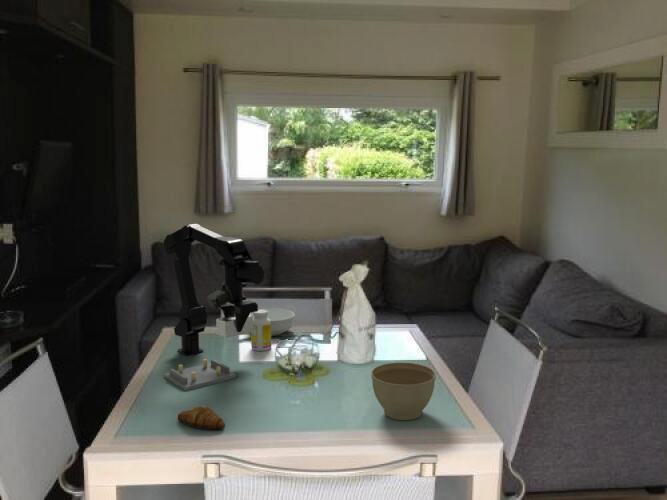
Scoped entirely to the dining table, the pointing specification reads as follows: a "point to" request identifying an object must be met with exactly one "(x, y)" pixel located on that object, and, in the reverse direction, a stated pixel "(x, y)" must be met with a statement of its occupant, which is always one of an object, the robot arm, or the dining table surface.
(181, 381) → the tray
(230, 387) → the dining table surface
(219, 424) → the croissant
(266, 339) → the supplement bottle
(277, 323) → the cereal bowl
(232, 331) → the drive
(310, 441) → the dining table surface
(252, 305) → the robot arm
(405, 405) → the planter bowl
